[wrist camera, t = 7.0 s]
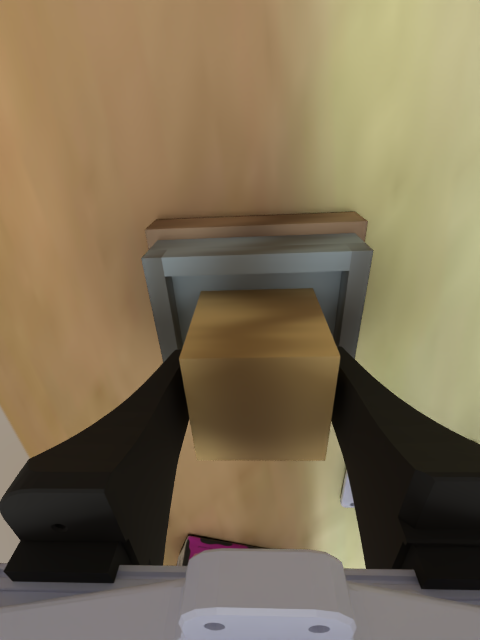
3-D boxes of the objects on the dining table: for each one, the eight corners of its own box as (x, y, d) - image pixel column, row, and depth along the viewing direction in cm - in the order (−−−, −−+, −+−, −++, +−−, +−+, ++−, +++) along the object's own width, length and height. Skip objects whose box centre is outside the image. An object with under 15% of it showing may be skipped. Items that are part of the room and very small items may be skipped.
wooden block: (313, 288, 14) (340, 356, 10) (305, 375, 16) (325, 460, 12) (201, 290, 14) (179, 358, 10) (210, 376, 17) (196, 460, 12)
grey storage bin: (354, 211, 16) (389, 236, 12) (333, 369, 21) (352, 423, 17) (156, 219, 16) (125, 246, 12) (182, 371, 21) (167, 425, 17)
